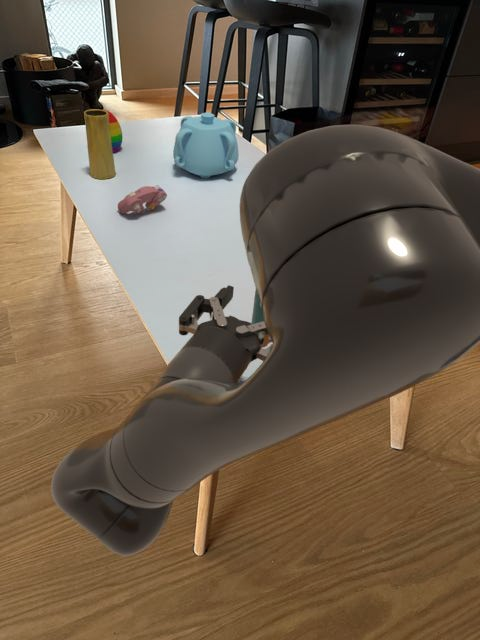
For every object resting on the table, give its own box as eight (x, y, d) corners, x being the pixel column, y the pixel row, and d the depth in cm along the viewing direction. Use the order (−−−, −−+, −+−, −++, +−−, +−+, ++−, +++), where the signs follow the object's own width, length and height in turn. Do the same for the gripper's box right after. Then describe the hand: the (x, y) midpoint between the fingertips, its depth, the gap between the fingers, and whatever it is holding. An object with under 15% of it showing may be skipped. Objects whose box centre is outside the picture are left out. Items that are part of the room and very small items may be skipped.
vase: (101, 181, 109) (94, 118, 100) (84, 173, 112) (75, 111, 103) (121, 174, 113) (115, 113, 104) (104, 167, 116) (97, 106, 107)
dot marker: (273, 330, 73) (284, 259, 65) (267, 342, 71) (279, 271, 62) (253, 324, 74) (262, 254, 65) (247, 337, 71) (256, 265, 63)
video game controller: (125, 224, 98) (132, 203, 92) (114, 208, 99) (120, 185, 93) (164, 212, 103) (172, 191, 98) (153, 197, 104) (161, 175, 98)
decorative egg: (101, 157, 121) (97, 117, 114) (86, 147, 125) (81, 108, 119) (129, 151, 125) (126, 112, 119) (113, 142, 130) (110, 104, 123)
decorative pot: (181, 154, 127) (181, 101, 118) (239, 161, 126) (243, 108, 118) (167, 177, 114) (166, 120, 106) (232, 185, 114) (236, 128, 105)
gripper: (263, 374, 48) (312, 294, 60) (148, 329, 52) (214, 262, 64) (256, 419, 53) (302, 337, 65) (150, 375, 57) (211, 305, 69)
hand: (258, 300), depth 64 cm, fingers open, 8 cm apart
